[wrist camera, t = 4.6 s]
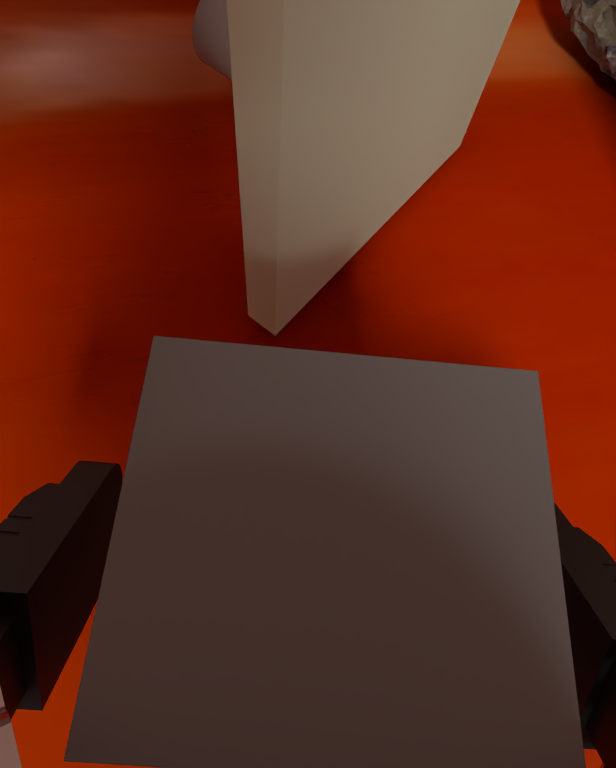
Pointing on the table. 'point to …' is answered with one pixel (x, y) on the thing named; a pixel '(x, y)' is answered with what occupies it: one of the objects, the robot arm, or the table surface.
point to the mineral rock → (595, 30)
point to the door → (339, 121)
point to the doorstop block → (331, 570)
